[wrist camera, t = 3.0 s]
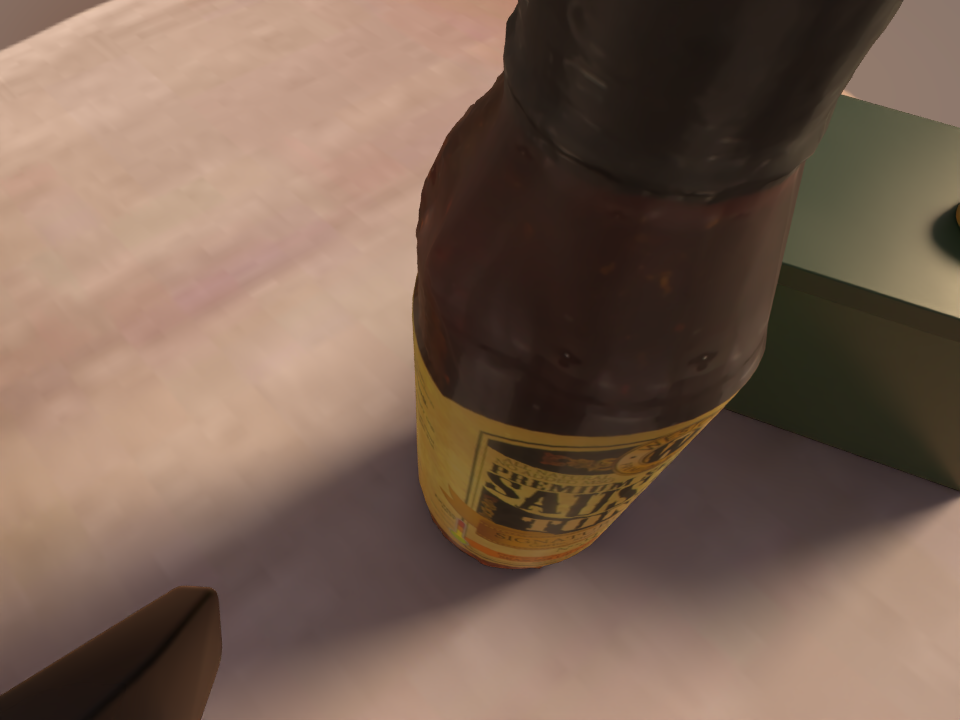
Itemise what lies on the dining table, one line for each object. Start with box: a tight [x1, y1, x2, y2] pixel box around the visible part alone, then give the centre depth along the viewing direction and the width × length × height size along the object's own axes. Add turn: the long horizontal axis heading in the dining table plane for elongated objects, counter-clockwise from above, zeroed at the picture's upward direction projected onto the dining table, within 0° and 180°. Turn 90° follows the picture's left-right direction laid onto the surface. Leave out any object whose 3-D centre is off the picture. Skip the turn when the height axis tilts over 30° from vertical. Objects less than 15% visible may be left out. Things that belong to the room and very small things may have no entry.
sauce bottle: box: [412, 0, 903, 569], centre depth 13 cm, size 6×6×20 cm
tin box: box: [724, 95, 960, 491], centre depth 20 cm, size 6×10×9 cm, turn 69°
